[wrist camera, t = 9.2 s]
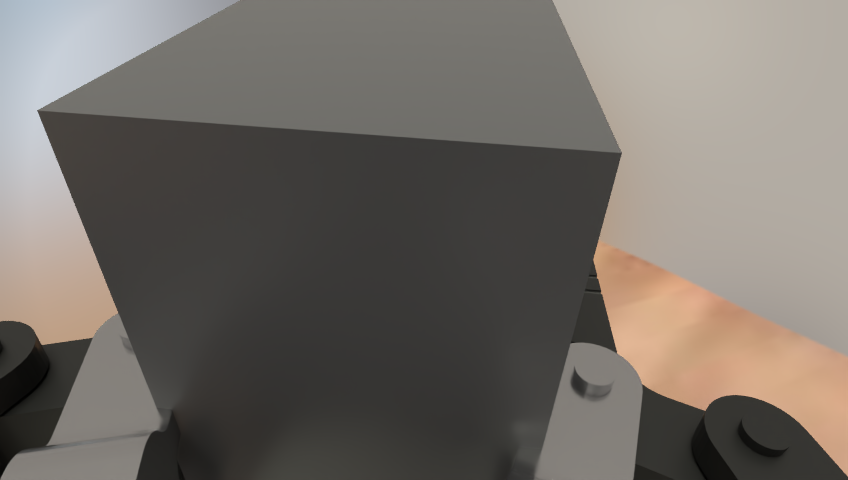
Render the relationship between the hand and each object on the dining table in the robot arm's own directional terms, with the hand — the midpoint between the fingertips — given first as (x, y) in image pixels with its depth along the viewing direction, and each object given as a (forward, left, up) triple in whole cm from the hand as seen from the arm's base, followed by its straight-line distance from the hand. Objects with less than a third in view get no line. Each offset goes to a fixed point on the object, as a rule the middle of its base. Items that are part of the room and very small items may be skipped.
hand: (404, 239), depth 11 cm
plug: (0, +3, -7) cm, 8 cm away
